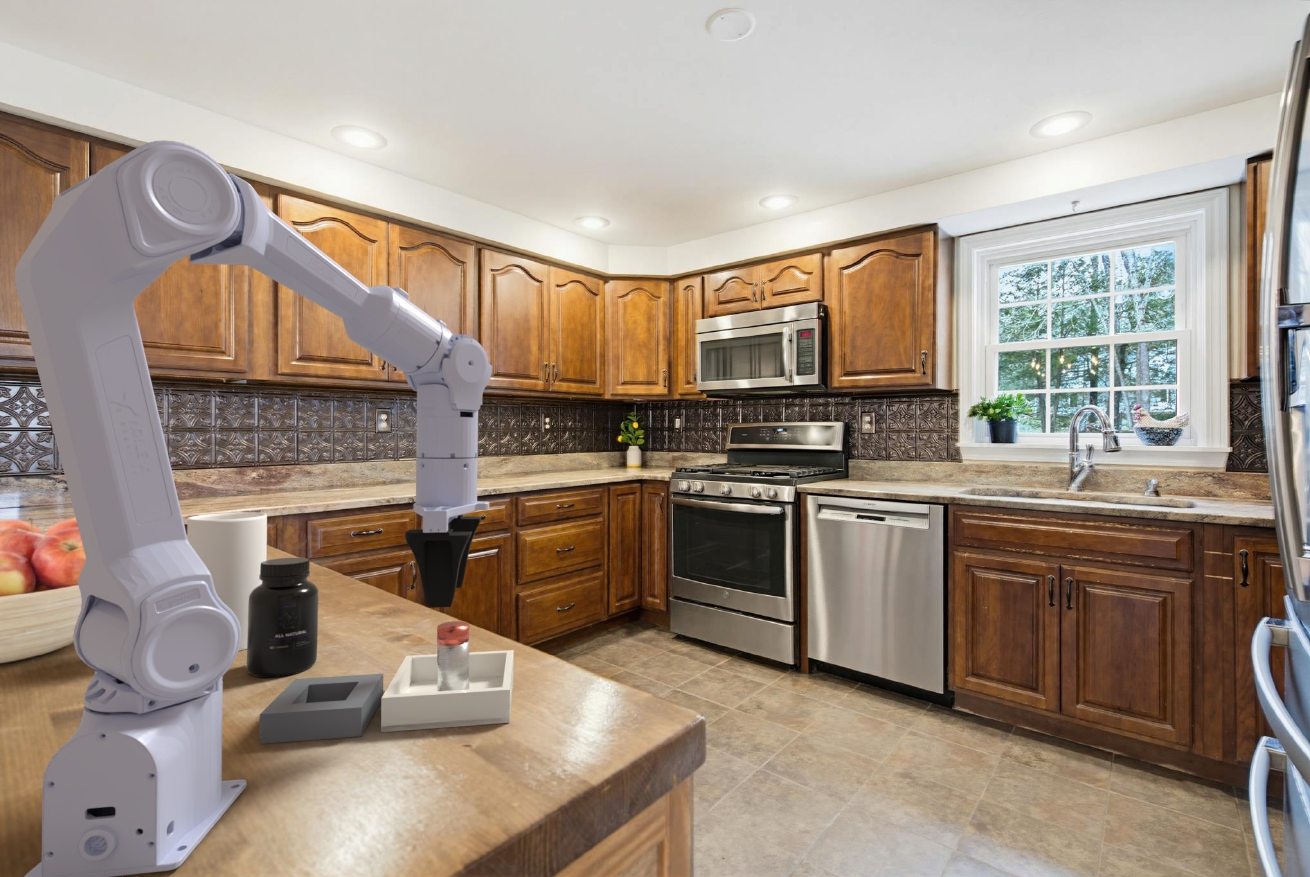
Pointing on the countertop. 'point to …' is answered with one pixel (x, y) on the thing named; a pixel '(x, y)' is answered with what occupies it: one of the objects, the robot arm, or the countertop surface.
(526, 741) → the countertop surface
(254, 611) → the supplement bottle
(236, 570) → the cup
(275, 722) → the gray square holder
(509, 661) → the pin tray
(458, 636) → the stop pin
